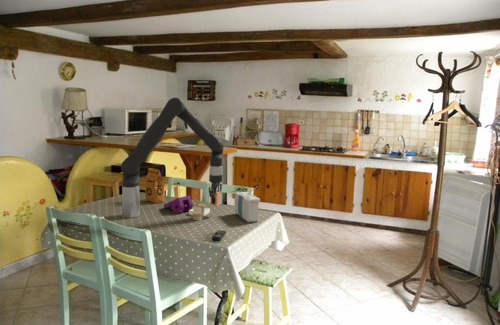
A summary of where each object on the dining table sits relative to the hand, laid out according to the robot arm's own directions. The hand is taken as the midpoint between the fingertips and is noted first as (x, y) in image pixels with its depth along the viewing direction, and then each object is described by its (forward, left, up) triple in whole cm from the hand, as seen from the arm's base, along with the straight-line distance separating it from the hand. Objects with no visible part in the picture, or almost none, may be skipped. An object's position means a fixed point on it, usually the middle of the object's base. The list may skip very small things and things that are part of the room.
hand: (215, 202), depth 225 cm
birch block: (-10, +6, -8) cm, 14 cm away
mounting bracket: (+3, +27, -8) cm, 28 cm away
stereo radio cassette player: (+3, -18, -8) cm, 20 cm away
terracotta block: (0, 0, -1) cm, 1 cm away
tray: (0, +10, -8) cm, 13 cm away
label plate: (+16, +18, -8) cm, 25 cm away
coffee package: (+16, +51, -8) cm, 54 cm away
